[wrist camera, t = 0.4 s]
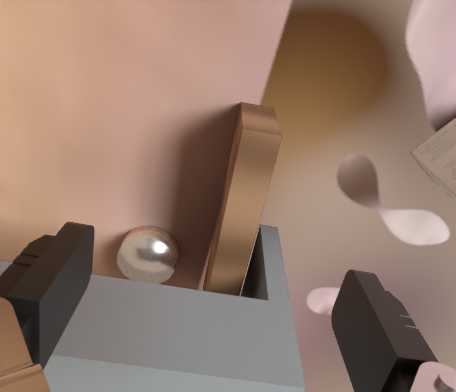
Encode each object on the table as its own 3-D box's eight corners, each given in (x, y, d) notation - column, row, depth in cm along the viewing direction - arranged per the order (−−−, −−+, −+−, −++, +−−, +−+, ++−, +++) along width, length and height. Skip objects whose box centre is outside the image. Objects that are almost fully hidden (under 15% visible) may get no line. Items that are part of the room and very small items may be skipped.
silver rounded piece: (123, 220, 33) (118, 234, 32) (181, 229, 34) (179, 243, 32) (121, 265, 36) (115, 280, 34) (175, 273, 36) (172, 288, 34)
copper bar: (241, 101, 28) (242, 129, 23) (273, 107, 28) (282, 136, 23) (203, 286, 37) (198, 336, 32) (228, 289, 37) (227, 341, 32)
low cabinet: (57, 190, 32) (-67, 338, 19) (277, 227, 33) (306, 388, 20) (60, 282, 37) (-37, 451, 23) (252, 311, 38) (261, 485, 25)
